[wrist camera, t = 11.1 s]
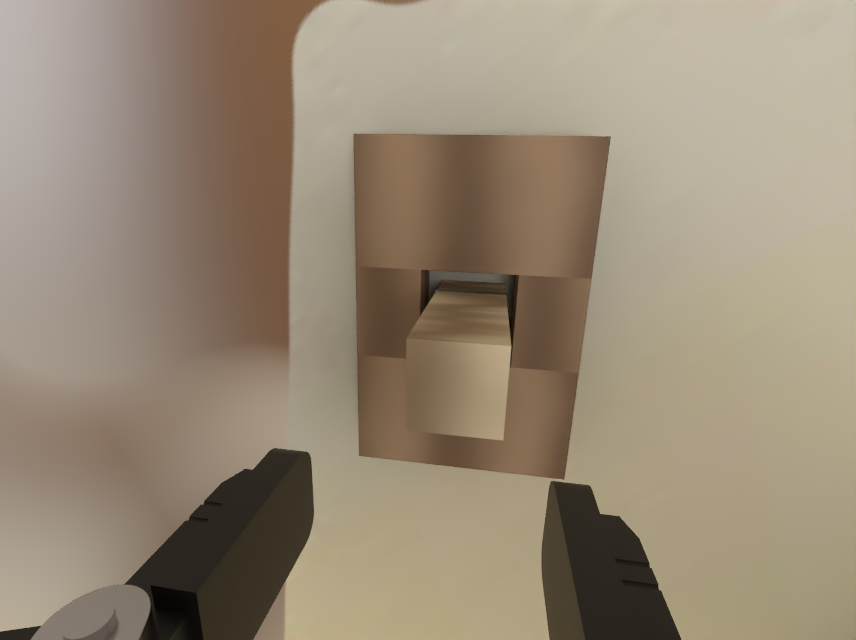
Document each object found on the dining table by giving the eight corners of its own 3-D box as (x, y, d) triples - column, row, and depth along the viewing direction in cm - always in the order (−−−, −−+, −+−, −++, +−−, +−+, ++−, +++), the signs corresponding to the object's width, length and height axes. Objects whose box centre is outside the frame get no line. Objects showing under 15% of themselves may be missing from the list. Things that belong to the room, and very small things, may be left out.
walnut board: (595, 144, 22) (610, 136, 20) (557, 449, 27) (564, 479, 25) (370, 141, 24) (353, 133, 21) (372, 430, 29) (359, 455, 26)
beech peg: (505, 282, 25) (513, 344, 15) (501, 343, 26) (504, 441, 16) (442, 279, 26) (404, 336, 15) (440, 338, 27) (403, 431, 16)
